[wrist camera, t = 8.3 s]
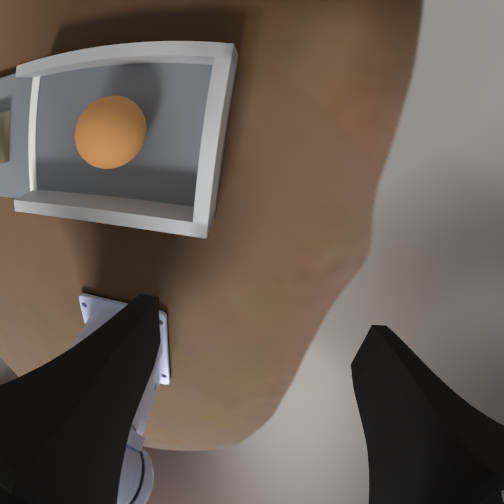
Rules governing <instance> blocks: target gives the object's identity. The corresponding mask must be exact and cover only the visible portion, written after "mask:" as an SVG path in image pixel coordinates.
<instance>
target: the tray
mask: <svg viewBox="0 0 504 504" xmlns="http://www.w3.org/2000/svg"><path fill="white" fill-rule="evenodd" d="M238 59H239V56H238V53H237V50H236V47H235V45H234V44H232V43H221V42H204V41H152V42H136V43H124V44H115V45H107V46H99V47H93V48H87V49H81V50H76V51H71V52H66V53H61V54H57V55H53V56H49V57H45V58H41V59H37V60H34V61H30V62H27V63H24V64H21V65H18V66H17V68H16V73H15V74H12V75H9V76H6V77H3V78H0V113H1V112H7V111H10V122H9V161H8V162H6V163H3V164H0V196H2V197H13V198H17V199H15V200H14V205H15V211H19V212H26V213H33V214H41V215H48V216H55V217H62V218H69V219H76V220H83V221H90V222H97V223H104V224H111V225H118V226H125V227H131V228H138V229H145V230H152V231H159V232H165V233H172V234H179V235H186V236H192V237H199V238H205V239H207V236H208V234H209V231H210V229H211V226H212V224H213V221H214V219H215V214H216V206H217V198H218V190H219V182H220V174H221V167H222V160H223V152H224V145H225V139H226V132H227V125H228V119H229V112H230V106H231V100H232V94H233V88H234V82H235V76H236V70H237V65H238ZM107 96H122V97H126V98H128V99H130V100H132V101H133V102H135V103H136V104H137V105H138V106H139V107H140V109H141V110H142V112H143V114H144V116H145V119H146V125H147V132H146V138H145V141H144V144H143V146H142V148H141V150H140V151H139V152H138V154H137V155H136V156H135V157H134V158H133V159H132V160H131V161H129V162H128V163H126V164H124V165H122V166H120V167H117V168H112V169H102V168H97V167H94V166H92V165H90V164H89V163H87V162H86V161H85V160H84V159H83V158H82V157H81V155H80V154H79V152H78V150H77V147H76V143H75V129H76V125H77V122H78V120H79V117H80V116H81V114H82V113H83V111H84V110H85V109H86V108H87V107H88V106H89V105H90V104H92V103H93V102H95V101H96V100H98V99H100V98H103V97H107Z"/></svg>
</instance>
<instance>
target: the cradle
mask: <svg viewBox="0 0 504 504" xmlns="http://www.w3.org/2000/svg"><path fill="white" fill-rule="evenodd" d="M9 122H10V111H7V112H1V113H0V164H3V163H6V162H8V161H9Z"/></svg>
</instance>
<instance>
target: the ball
mask: <svg viewBox="0 0 504 504" xmlns="http://www.w3.org/2000/svg"><path fill="white" fill-rule="evenodd" d="M146 132H147V125H146V119H145V116H144V114H143V112H142V110H141V109H140V107H139V106H138V105H137V104H136V103H135V102H133V101H132V100H130V99H128V98H126V97H122V96H107V97H103V98H100V99H98V100H96V101H95V102H93V103H92V104H90V105H89V106H88V107H87V108H86V109H85V110H84V111H83V113H82V114H81V116H80V117H79V120H78V122H77V125H76V129H75V143H76V147H77V150H78V152H79V154H80V155H81V157H82V158H83V159H84V160H85V161H86V162H87V163H89V164H90V165H92V166H94V167H97V168H102V169H112V168H117V167H120V166H122V165H124V164H126V163H128V162H129V161H131V160H132V159H133V158H134V157H135V156H136V155H137V154H138V152H139V151H140V150H141V148H142V146H143V144H144V141H145V138H146Z"/></svg>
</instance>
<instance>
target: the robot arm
mask: <svg viewBox="0 0 504 504" xmlns="http://www.w3.org/2000/svg"><path fill="white" fill-rule="evenodd" d="M79 301H80V306H81V310H82V314H83V318H84V322H85V325H84V327H83V328H82V330H81V331H80V333H79V334H78V336H77V337H76V339H75V341H74V342H73V344H72V345H71V347H70V348H69V350H68V351H66V352H65V353H63V354H61V355H60V356H58V357H57V358H55V359H53V360H51V361H50V362H48V363H46V364H45V365H43V366H41V367H39V368H37V369H35V370H33V371H31V372H29V373H27V374H25V375H23V376H21V377H19V378H16V379H14V380H12V381H9V382H7V383H4V384H1V385H0V504H146V502H147V500H148V498H149V496H150V494H151V491H152V487H153V480H154V473H153V467H152V462H151V459H150V457H149V455H148V454H147V452H146V451H144V450H143V449H142V447H143V443H144V440H145V438H144V437H142V436H141V435H142V434H143V433H144V431H145V429H146V427H147V423H148V420H149V416H150V413H151V409H152V406H153V403H154V399H155V396H156V393H157V389H158V386H159V383H161V384H165V385H167V384H169V383H170V368H169V353H168V332H167V315H166V313H165V312H164V311H161V310H159V300H158V297H155V296H150V295H145V294H140V295H138V296H137V297H136V298H135V299H133V300H132V301H131V302H130V303H129V304H128V303H124V302H119V301H115V300H110V299H106V298H102V297H98V296H94V295H90V294H86V293H82V294H81V295H80V296H79ZM85 303H86V304H85ZM159 320H161V321H162V322H160V321H159ZM351 369H352V379H353V387H354V392H355V396H356V400H357V404H358V408H359V412H360V417H361V421H362V425H363V429H364V434H365V438H366V443H367V450H368V462H369V486H370V487H369V504H504V494H503V495H502V494H501V491H502V490H504V426H503V425H501V424H500V423H497V422H496V421H494V420H492V419H491V418H489V417H487V416H486V415H484V414H483V413H481V412H480V411H479V410H477V409H476V408H474V407H473V406H471V405H470V404H469V403H467V402H466V401H465V400H464V399H462V398H461V397H460V396H459V395H458V394H456V393H455V392H454V391H453V390H452V389H450V388H449V387H448V386H447V385H446V384H445V383H444V382H443V381H442V380H441V379H440V378H439V377H437V376H436V375H435V374H434V373H433V372H432V371H431V370H430V369H429V368H428V367H427V366H426V365H425V364H424V363H423V362H422V361H421V359H420V358H419V357H418V356H417V355H416V354H415V353H414V352H413V351H412V350H411V349H410V348H409V347H408V346H407V345H406V344H405V343H404V342H403V341H402V340H401V339H400V338H399V337H398V336H397V335H396V334H395V333H394V332H393V331H392V330H391V329H389V328H388V327H387V326H381V325H372V326H371V328H370V330H369V332H368V334H367V336H366V338H365V339H364V341H363V343H362V345H361V347H360V349H359V351H358V352H357V354H356V356H355V358H354V360H353V361H352V363H351Z"/></svg>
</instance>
